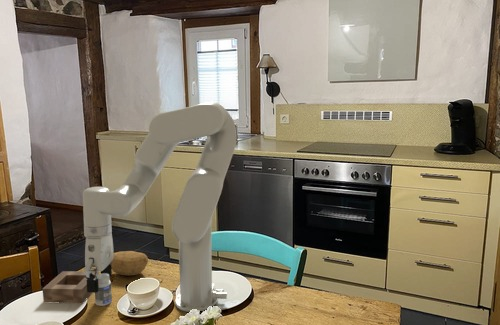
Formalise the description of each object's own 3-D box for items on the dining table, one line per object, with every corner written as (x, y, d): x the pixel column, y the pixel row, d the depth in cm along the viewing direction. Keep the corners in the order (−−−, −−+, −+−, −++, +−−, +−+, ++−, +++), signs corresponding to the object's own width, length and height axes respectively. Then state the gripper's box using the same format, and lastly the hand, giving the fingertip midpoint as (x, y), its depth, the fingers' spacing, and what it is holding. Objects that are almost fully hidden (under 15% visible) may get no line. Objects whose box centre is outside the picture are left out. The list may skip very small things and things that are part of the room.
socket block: (99, 284, 131) (98, 271, 130) (82, 303, 119) (81, 289, 118) (63, 284, 131) (62, 271, 131) (43, 302, 120) (42, 288, 119)
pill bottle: (106, 306, 117) (104, 280, 116) (92, 305, 118) (90, 278, 117) (115, 298, 122) (113, 273, 120) (101, 297, 123) (99, 271, 121)
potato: (118, 266, 145) (117, 245, 143) (153, 270, 142) (152, 249, 140) (102, 278, 135) (100, 256, 134) (139, 282, 132) (138, 260, 131)
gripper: (98, 240, 107) (100, 299, 110) (121, 220, 124) (122, 272, 127) (71, 239, 108) (73, 297, 110) (97, 219, 125) (99, 271, 127)
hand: (99, 284), depth 119 cm, fingers open, 9 cm apart
